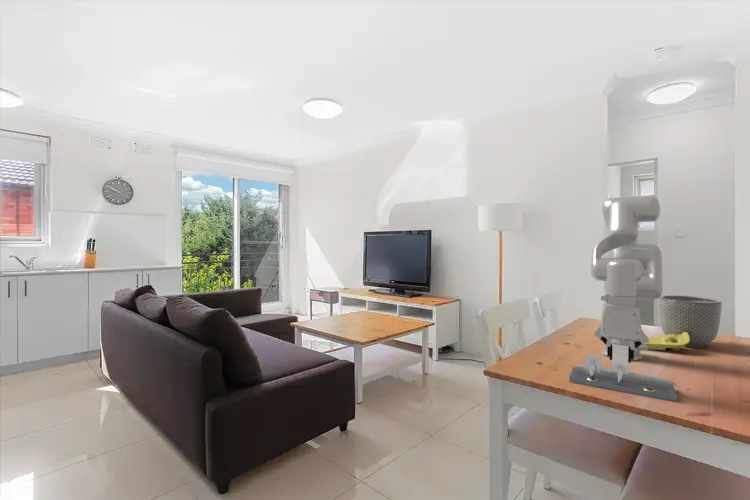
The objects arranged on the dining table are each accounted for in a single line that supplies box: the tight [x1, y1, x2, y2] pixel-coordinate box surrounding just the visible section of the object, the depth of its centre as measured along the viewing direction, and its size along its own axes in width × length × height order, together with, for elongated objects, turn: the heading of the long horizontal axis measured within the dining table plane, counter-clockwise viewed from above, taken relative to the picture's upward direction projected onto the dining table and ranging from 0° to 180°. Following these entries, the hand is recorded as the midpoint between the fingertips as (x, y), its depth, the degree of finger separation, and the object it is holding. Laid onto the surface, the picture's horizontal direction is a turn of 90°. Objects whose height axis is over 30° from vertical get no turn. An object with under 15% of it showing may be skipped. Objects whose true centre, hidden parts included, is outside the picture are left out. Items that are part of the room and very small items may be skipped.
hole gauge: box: [568, 353, 678, 403], centre depth 112 cm, size 26×10×7 cm, turn 56°
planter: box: [658, 294, 723, 349], centre depth 153 cm, size 20×20×19 cm
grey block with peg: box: [611, 341, 629, 383], centre depth 112 cm, size 4×8×10 cm, turn 146°
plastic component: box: [640, 332, 690, 352], centre depth 149 cm, size 20×7×10 cm
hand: (620, 359), depth 113 cm, fingers closed on grey block with peg, 4 cm apart
